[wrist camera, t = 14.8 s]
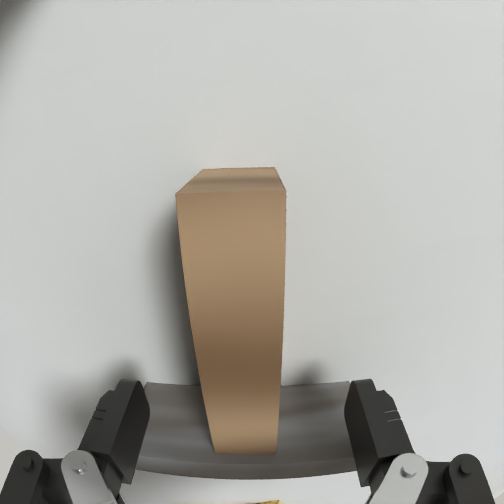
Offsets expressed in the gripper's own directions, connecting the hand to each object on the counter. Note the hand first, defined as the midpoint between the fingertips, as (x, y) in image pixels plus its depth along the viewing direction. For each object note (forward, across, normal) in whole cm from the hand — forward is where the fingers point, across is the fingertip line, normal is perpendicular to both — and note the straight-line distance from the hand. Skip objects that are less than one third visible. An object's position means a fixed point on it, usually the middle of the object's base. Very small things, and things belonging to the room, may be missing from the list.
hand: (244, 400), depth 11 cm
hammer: (+3, 0, -3) cm, 4 cm away
